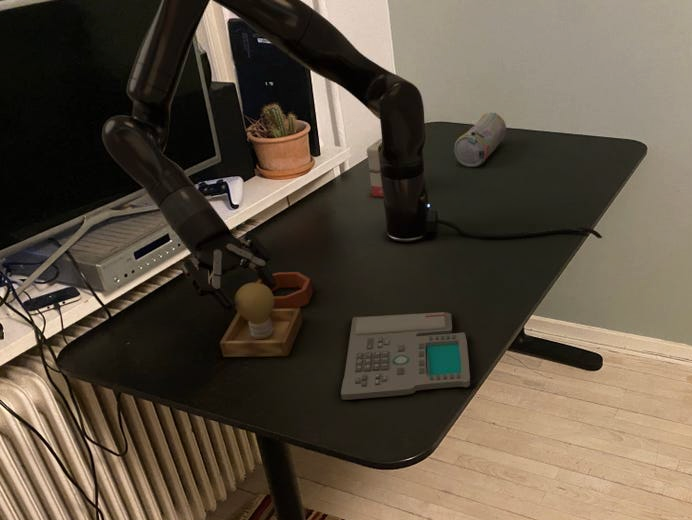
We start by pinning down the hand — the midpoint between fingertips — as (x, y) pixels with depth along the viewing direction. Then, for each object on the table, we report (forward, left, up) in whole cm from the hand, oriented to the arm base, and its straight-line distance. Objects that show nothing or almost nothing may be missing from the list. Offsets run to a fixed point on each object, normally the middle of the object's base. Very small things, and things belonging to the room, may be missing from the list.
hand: (253, 298), depth 123 cm
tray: (0, 0, -8) cm, 8 cm away
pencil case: (-36, -91, -8) cm, 99 cm away
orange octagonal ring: (0, -14, -8) cm, 16 cm away
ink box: (-13, -67, -8) cm, 69 cm away
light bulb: (0, 0, -8) cm, 8 cm away
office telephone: (-26, +6, -8) cm, 28 cm away
